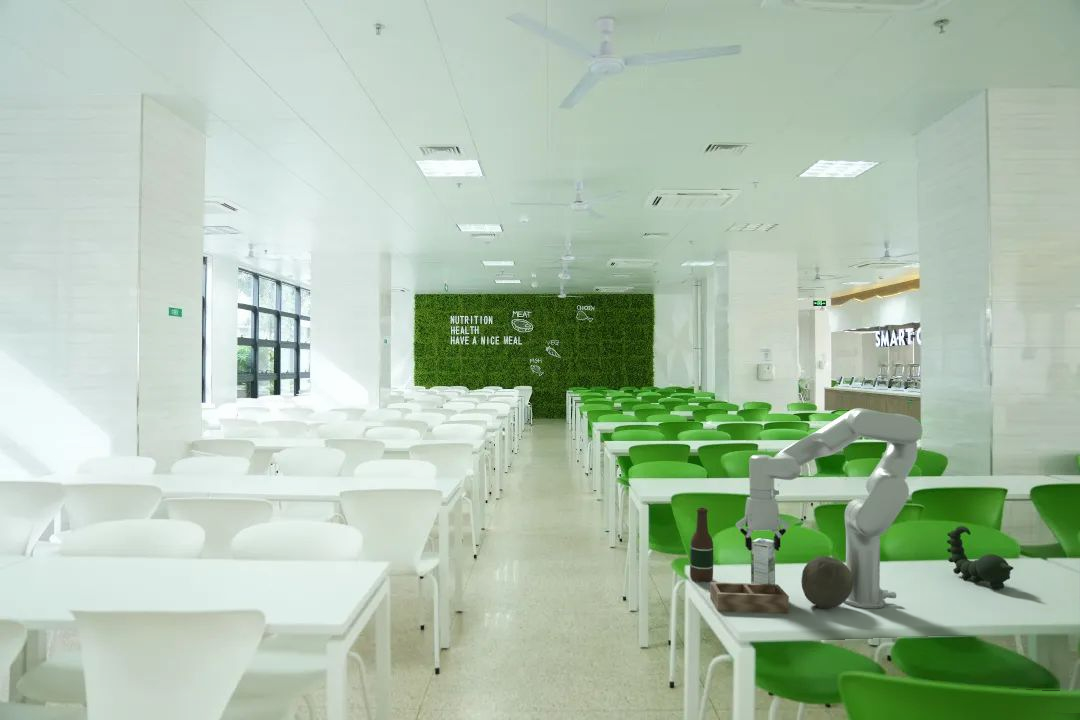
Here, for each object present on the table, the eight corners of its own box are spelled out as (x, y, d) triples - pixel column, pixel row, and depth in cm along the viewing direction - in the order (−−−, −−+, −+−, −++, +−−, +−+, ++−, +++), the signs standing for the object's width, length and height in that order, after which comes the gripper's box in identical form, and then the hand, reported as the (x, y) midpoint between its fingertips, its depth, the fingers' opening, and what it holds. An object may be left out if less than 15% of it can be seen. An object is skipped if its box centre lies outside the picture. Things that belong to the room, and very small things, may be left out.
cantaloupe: (835, 619, 194) (836, 566, 194) (791, 605, 206) (792, 555, 206) (861, 609, 203) (862, 559, 203) (818, 596, 214) (818, 548, 214)
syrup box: (757, 582, 219) (756, 537, 219) (776, 585, 215) (774, 540, 216) (750, 587, 215) (749, 541, 215) (769, 590, 211) (768, 543, 211)
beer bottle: (685, 576, 232) (686, 506, 233) (704, 574, 235) (705, 505, 235) (698, 583, 225) (699, 511, 225) (717, 581, 228) (718, 509, 228)
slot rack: (777, 600, 209) (777, 584, 209) (788, 613, 198) (788, 596, 199) (710, 598, 210) (710, 582, 211) (717, 610, 200) (717, 593, 200)
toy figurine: (942, 578, 241) (1002, 595, 216) (938, 524, 243) (998, 534, 218) (964, 577, 243) (1027, 593, 218) (961, 523, 245) (1023, 533, 220)
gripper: (786, 492, 219) (787, 546, 218) (731, 492, 220) (732, 546, 219) (793, 496, 211) (794, 552, 211) (737, 496, 212) (737, 552, 212)
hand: (762, 549), depth 215 cm, fingers closed on syrup box, 7 cm apart
